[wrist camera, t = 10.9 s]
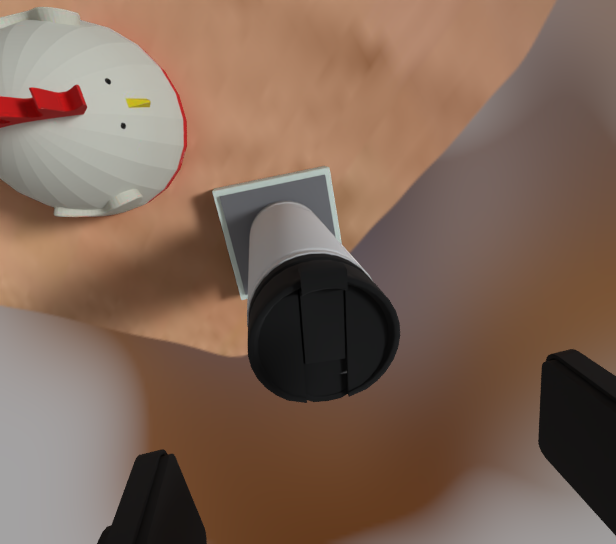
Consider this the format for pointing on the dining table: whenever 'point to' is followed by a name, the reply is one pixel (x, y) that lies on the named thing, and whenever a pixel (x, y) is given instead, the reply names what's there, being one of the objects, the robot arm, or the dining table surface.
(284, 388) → the travel mug
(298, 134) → the dining table surface
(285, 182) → the stand
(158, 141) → the kitchen timer
